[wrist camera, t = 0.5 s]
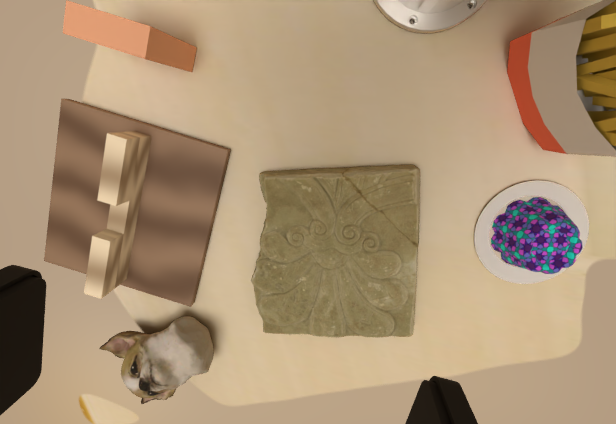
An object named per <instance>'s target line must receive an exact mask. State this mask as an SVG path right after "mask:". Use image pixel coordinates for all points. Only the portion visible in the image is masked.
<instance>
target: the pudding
mask: <svg viewBox="0 0 616 424" xmlns="http://www.w3.org/2000/svg"><path fill="white" fill-rule="evenodd" d="M526 196H542V197H546V198H549V199H551V200H553V201H554V202H556V203H557V204H559V205H560V206H561V208H562V209H563V210H564V211H563V210H562V209H561V208H559V207H558V206H552V205H551V204H550V203H549V202H548V201H547V200H546V199H543V198H541V197H535V198H532V199H530V200H529V201H527V202H525V201H522V200H518V201H514V200H516V199H518V198H522V197H526ZM512 201H514V202H512ZM510 202H512V203H511V204H510V205H508V206H507V209H506V212H505V213H504V214H501V215H499V216H497V218H496V219H495V220H494V223H493V226H492V227H493V230H494V232H495V234H494V235H493V237H492V238H491V245H492V247H493V248H494V250H496V251H498V252H501V257H502V259H503V260H504V261H505V262H506V263H509V264H512V265H515V266H518V267H514V266H510V265H508V264H506V263H504V262H503V261H501V260H500V259H499V258H498V257H497V256H496V255H495V253H494V252H493V250H492V248H491V245H490V241H489V231H490V226H491V224H492V221H493V219H494V218H495V216H496V215H497V213H498V212H499V211H500V210H501V209H502V208H503V207H504V206H505V205H507V204H508V203H510ZM588 234H589V219H588V214H587V211H586V208H585V206H584V205H583V203H582V201H581V200H580V199H579V197H578V196H577V195H576V194H575V193H574V192H572V191H571V190H569V189H568V188H567V187H564V186H562V185H560V184H558V183H554V182H550V181H540V180H536V181H527V182H523V183H519V184H516V185H514V186H511V187H509V188H507V189H505V190H504V191H502V192H501V193H499V194H498V195H497V196H495V197H494V198H493V199H492V200H491V201H490V202H489V203H488V204H487V206H486V207H485V208H484V210H483V211H482V213H481V215H480V216H479V219H478V222H477V224H476V228H475V234H474V243H475V248H476V252H477V255H478V257H479V259H480V261H481V262H482V264H483V265H484V267H485V268H486V269H487V270H488V271H489V272H490V273H492V274H493V275H495V276H496V277H498V278H500V279H502V280H505V281H508V282H512V283H517V284H533V283H538V282H543V281H546V280H548V279H551V278H554V277H555V276H557V275H559V274H561V273H562V272H564V271H565V270H566V269H568V268H569V267H570V266H572V265H573V264H574V262H575V261H576V260H577V258H578V257H579V255H580V254H581V253H582V251H583V249H584V247H585V244H586V242H587V238H588ZM519 267H521V268H519Z"/></svg>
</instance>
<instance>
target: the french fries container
mask: <svg viewBox="0 0 616 424" xmlns="http://www.w3.org/2000/svg"><path fill="white" fill-rule="evenodd" d="M507 73H508V76H509V79H510V83H511V86H512V89H513V92H514V96H515V99H516V102H517V105H518V109H519V112H520V115H521V118H522V122H523V124H524V125H525V126H526V128H527V129H528V130H529V132H530V133H531V134H532V136H533V137H534V138H535V140H536V141H537V142H538V144H539V145H540V146H541V148H542V149H543V150H548V151H553V152H559V153H565V154H578V155H596V156H614V157H616V0H603V1H601V2H598V3H596V4H594V5H591V6H589V7H587V8H584V9H582V10H580V11H577V12H575V13H573V14H570V15H568V16H566V17H563V18H561V19H559V20H556V21H554V22H552V23H550V24H547V25H545V26H543V27H541V28H539V29H536V30H534V31H532V32H530V33H528V34H525V35H523V36H521V37H519V38H517V39H514V40H512V41H510V50H509V61H508V71H507Z"/></svg>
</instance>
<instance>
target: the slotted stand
mask: <svg viewBox="0 0 616 424" xmlns="http://www.w3.org/2000/svg"><path fill="white" fill-rule="evenodd" d="M230 152H231V149H228V148H225V147H221V146H218V145H215V144H212V143H209V142H205V141H202V140H199V139H196V138H193V137H189V136H186V135H183V134H180V133H176V132H173V131H170V130H167V129H164V128H160V127H157V126H154V125H151V124H148V123H144V122H141V121H138V120H135V119H132V118H128V117H125V116H122V115H119V114H115V113H112V112H109V111H106V110H103V109H99V108H96V107H93V106H90V105H87V104H83V103H80V102H77V101H74V100H70V99H61V109H60V118H59V128H58V137H57V146H56V155H55V164H54V174H53V184H52V192H51V201H50V202H51V203H50V211H49V221H48V230H47V239H46V248H45V257H44V261H46V262H49V263H52V264H56V265H59V266H62V267H65V268H68V269H72V270H75V271H78V272H81V273H85V274H87V276H86V282H85V290H84V294H87V295H91V296H94V297H97V298H100V299H101V298H103V297H104V296H106V295H107V294H108V293H109V292H111V291H112V290H113V289H115V288H116V287H117V286H118V285H123V286H126V287H129V288H133V289H136V290H139V291H142V292H145V293H149V294H152V295H155V296H158V297H161V298H165V299H168V300H171V301H174V302H177V303H181V304H184V305H187V306H190V307H191V306H192V305H193V303H194V302H195V298H196V294H197V290H198V286H199V281H200V277H201V273H202V269H203V265H204V261H205V256H206V252H207V248H208V244H209V240H210V235H211V231H212V227H213V223H214V219H215V214H216V210H217V206H218V202H219V198H220V194H221V189H222V185H223V181H224V177H225V173H226V168H227V164H228V160H229V156H230Z"/></svg>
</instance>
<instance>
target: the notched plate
mask: <svg viewBox="0 0 616 424" xmlns="http://www.w3.org/2000/svg"><path fill="white" fill-rule="evenodd" d="M63 33H64V34H67V35H70V36H73V37H77V38H80V39H83V40H87V41H89V42H93V43H96V44H99V45H102V46H105V47H109V48H112V49H115V50H118V51H122V52H125V53H128V54H131V55H134V56H138V57H141V58H144V59H147V60H151V61H155V62H158V63H162V64H165V65H169V66H172V67H176V68H179V69H183V70H187V71H190V72H192V70H193V65H194V60H195V55H196V50H197V48H196V47H194V46H192V45H190V44H187V43H185V42H183V41H181V40H179V39H177V38H174V37H172V36H170V35H168V34H166V33H164V32H161V31H159V30H157V29H155V28H153V27H151V26H148V25H144V24H141V23H138V22H135V21H132V20H128V19H125V18H122V17H119V16H115V15H112V14H109V13H106V12H103V11H99V10H96V9H93V8H90V7H87V6H83V5H80V4H77V3H74V2H70V1H66V8H65V17H64V28H63Z"/></svg>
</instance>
